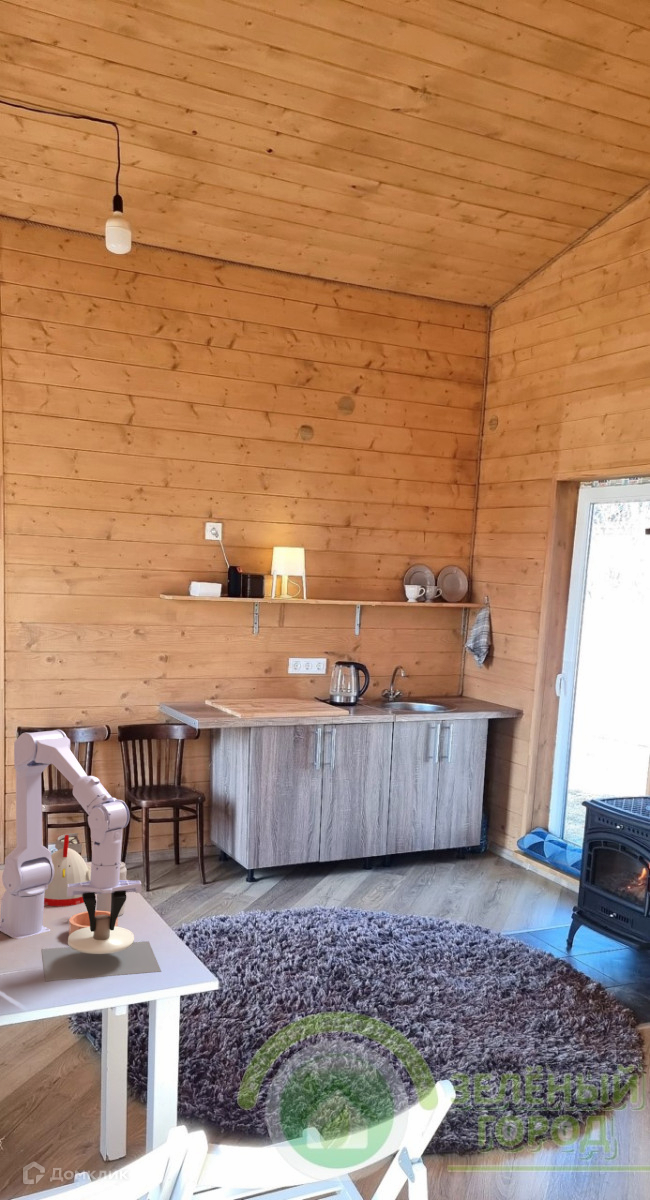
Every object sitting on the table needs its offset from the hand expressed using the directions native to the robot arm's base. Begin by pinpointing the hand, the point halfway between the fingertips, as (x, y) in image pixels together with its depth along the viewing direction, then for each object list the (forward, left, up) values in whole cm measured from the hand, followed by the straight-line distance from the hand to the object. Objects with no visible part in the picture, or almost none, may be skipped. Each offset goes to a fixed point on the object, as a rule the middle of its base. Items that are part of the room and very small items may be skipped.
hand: (101, 929), depth 180 cm
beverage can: (-21, +18, -7) cm, 28 cm away
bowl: (-13, +7, -7) cm, 16 cm away
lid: (0, 0, -2) cm, 2 cm away
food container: (-52, +26, -7) cm, 59 cm away
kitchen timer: (-39, +17, -7) cm, 43 cm away
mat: (0, 0, -7) cm, 7 cm away
